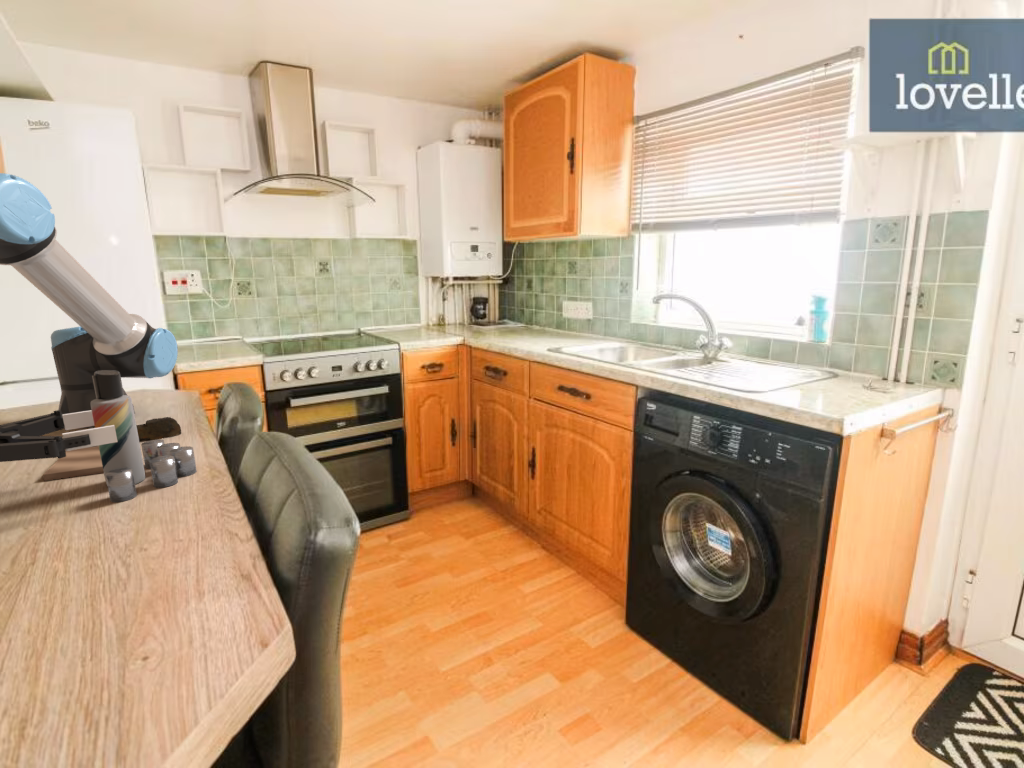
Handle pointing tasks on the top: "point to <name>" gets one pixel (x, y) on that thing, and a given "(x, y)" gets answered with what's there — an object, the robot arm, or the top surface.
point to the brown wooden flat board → (76, 464)
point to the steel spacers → (153, 469)
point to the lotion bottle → (117, 424)
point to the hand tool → (158, 429)
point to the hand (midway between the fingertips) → (113, 423)
